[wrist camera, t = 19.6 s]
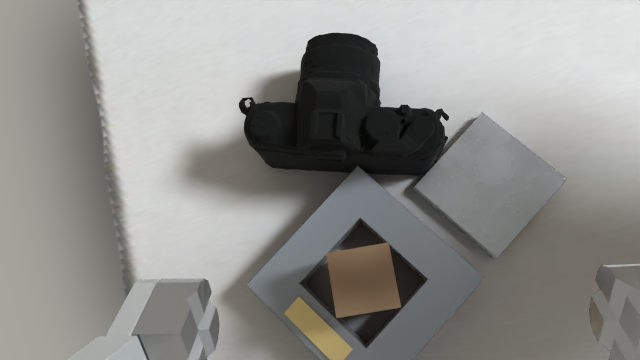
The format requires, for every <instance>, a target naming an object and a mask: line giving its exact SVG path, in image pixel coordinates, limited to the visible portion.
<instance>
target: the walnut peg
mask: <svg viewBox="0 0 640 360" xmlns="http://www.w3.org/2000/svg"><path fill="white" fill-rule="evenodd" d="M326 258H327V264H328V270H329V276H330V282H331V288H332V294H333V300H334V307H335V313H336V318H340V317H347V316H353V315H359V314H365V313H371V312H377V311H383V310H389V309H395V308H401V303H400V298H399V293H398V288H397V283H396V278H395V272H394V267H393V262H392V257H391V252H390V246H389V242H388V243H382V244H376V245H370V246H364V247H359V248H353V249H347V250H341V251H336V252H330V253H326Z"/></svg>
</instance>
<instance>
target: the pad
mask: <svg viewBox="0 0 640 360" xmlns="http://www.w3.org/2000/svg"><path fill="white" fill-rule="evenodd" d="M566 180H567V179H566V178H565V177H564V176H563V175H561V174H560V173H559V172H557V171H556V170H555V169H554V168H552V167H551V166H550V165H549V164H547V163H546V162H545V161H544V160H542V159H541V158H540V157H538V156H537V155H536V154H535V153H533V152H532V151H531V150H530V149H528V148H527V147H526V146H524V145H523V144H522V143H521V142H519V141H518V140H517V139H516V138H514V137H513V136H512V135H511V134H509V133H508V132H507V131H505V130H504V129H503V128H502V127H500V126H499V125H498V124H497V123H495V122H494V121H493V120H491V119H490V118H489V117H488V116H486V115H485V114H484V113H483V112H482V113H481V115H480V116H479V117H478V118H477V119H476V120H475V121H474V122H473V123H472V124H471V125H470V127H469V128H468V129H467V130H466V131H465V132H464V133H463V134H462V135H461V136H460V137H459V139H458V140H457V141H456V142H455V143H454V144H453V145H452V146H451V147H450V148H449V149H448V151H447V152H446V153H445V154H444V155H443V156H442V157H441V158H440V159H439V160H438V161H437V163H436V164H435V165H434V166H433V167H432V168H431V169H430V170H429V171H428V172H427V173H426V175H425V176H424V177H423V178H422V179H421V180H420V181H419V182H418V183H417V184H416V185H415V187H414V190H415V191H416V192H417V193H419V194H420V195H421V196H422V197H423V198H424V199H426V200H427V201H428V202H429V203H430V204H431V205H433V206H434V207H435V208H436V209H437V210H438V211H440V212H441V213H442V214H443V215H444V216H445V217H446V218H448V219H449V220H450V221H451V222H452V223H453V224H455V225H456V226H457V227H458V228H459V229H460V230H462V231H463V232H464V233H465V234H466V235H467V236H469V237H470V238H471V239H472V240H473V241H474V242H475V243H477V244H478V245H479V246H480V247H481V248H482V249H484V250H485V251H486V252H487V253H488V254H489V255H491V256H492V257H493V258H494V259H495V258H498V257H499V255H500V254H501V253H502V252H503V251H504V250H505V249H506V248H507V246H508V245H509V244H510V243H511V242H512V241H513V240H514V238H515V237H516V236H517V235H518V234H519V233H520V232H521V231H522V229H523V228H524V227H525V226H526V225H527V224H528V223H529V222H530V220H531V219H532V218H533V217H534V216H535V215H536V214H537V213H538V211H539V210H540V209H541V208H542V207H543V206H544V205H545V203H546V202H547V201H548V200H549V199H550V198H551V197H552V196H553V194H554V193H555V192H556V191H557V190H558V189H559V188H560V187H561V185H562V184H563V183H564V182H565V181H566Z"/></svg>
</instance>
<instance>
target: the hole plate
mask: <svg viewBox="0 0 640 360" xmlns="http://www.w3.org/2000/svg"><path fill="white" fill-rule="evenodd" d="M360 223H362V224H363V225H365V226H366V227H367V228H368V229H369V230H370V231H371V232H372V233H373V234H374V235H376V236H377V237H378V238H379V239H380V240H381V241H382V242H383V243H388V242H389V246H390V249H391V250H392V251H393V252H394V253H395V254H397V255H398V256H399V257H400V258H401V259H402V260H403V261H404V262H405V263H406V264H408V265H409V266H410V267H411V268H412V269H413V270H414V271H415V272H416V273H417V274H419V275H420V276H421V277H422V278H423V279H424V281H423V282H422V283H421V284H420V286H419V287H418V288H417V289H416V290H415V291H414V292H413V293H412V294H411V296H410V297H409V298H408V299H407V300H406V301H405V302H404V303H403V305H402V306H401V308H399V309H398V310H397V311H396V312H395V313H394V315H393V316H392V317H391V318H390V319H389V320H388V321H387V322H386V323H385V325H384V326H383V327H382V328H381V329H380V330H379V331H378V332H377V334H376V335H375V336H374V337H373V338H372V339H371V340H370V341H369V342H368V344H366V343H365V342H364V341H363V340H362V339H361V338H360V337H359V336H358V335H357V334H356V333H355V332H354V331H353V330H352V329H351V328H350V327H349V326H348V325H347V324H346V323H345V322H344V321H343V320H342V319H341V318H336V313H335V312H333V311H332V310H331V309H330V308H329V307H328V306H327V305H326V304H325V303H324V302H323V301H322V300H321V299H320V298H319V297H318V296H317V295H316V294H315V293H314V292H313V291H312V290H311V289H310V288H309V287H308V286H307V285H306V284H305V283H306V282H307V281H308V280H309V279H310V278H311V277H312V275H313V274H314V273H315V272H316V271H317V270H318V269H319V268H320V267H321V266H322V265H323V264H324V262H325V261H326V260H327V258H326V253H330V252H335V251H336V249H337V248H338V247H339V246H340V245H341V244H342V243H343V242H344V241H345V240H346V239H347V237H348V236H349V235H350V234H351V233H352V232H353V231H354V230H355V229H356V228H357V227H358V226H359V224H360ZM484 278H485V277H484V276H483V275H482V274H481V273H479V272H478V271H477V270H476V269H475V268H474V267H473V266H471V265H470V264H469V263H468V262H467V261H466V260H465V259H463V258H462V257H461V256H460V255H459V254H458V253H457V252H455V251H454V250H453V249H452V248H451V247H450V246H449V245H447V244H446V243H445V242H444V241H443V240H442V239H441V238H439V237H438V236H437V235H436V234H435V233H434V232H433V231H431V230H430V229H429V228H428V227H427V226H426V225H425V224H423V223H422V222H421V221H420V220H419V219H418V218H417V217H415V216H414V215H413V214H412V213H411V212H410V211H409V210H408V209H406V208H405V207H404V206H403V205H402V204H401V203H400V202H398V201H397V200H396V199H395V198H394V197H393V196H392V195H390V194H389V193H388V192H387V191H386V190H385V189H384V188H382V187H381V186H380V185H379V184H378V183H377V182H376V181H374V180H373V179H372V178H371V177H370V176H369V175H368V174H366V173H365V172H364V171H363V170H362V169H361V168H360V167H358V166H357V167H356V168H355V169H354V170H353V171H352V172H351V174H350V175H349V176H348V177H347V178H346V179H345V180H344V181H343V182H342V183H341V184H340V185H339V186H338V187H337V189H336V190H335V191H334V192H333V193H332V194H331V195H330V196H329V197H328V198H327V199H326V200H325V201H324V202H323V204H322V205H321V206H320V207H319V208H318V209H317V210H316V211H315V212H314V213H313V214H312V215H311V216H310V218H309V219H308V220H307V221H306V222H305V223H304V224H303V225H302V226H301V227H300V228H299V229H298V230H297V231H296V233H295V234H294V235H293V236H292V237H291V238H290V239H289V240H288V241H287V242H286V243H285V244H284V245H283V246H282V248H281V249H280V250H279V251H278V252H277V253H276V254H275V255H274V256H273V257H272V258H271V259H270V260H269V261H268V263H267V264H266V265H265V266H264V267H263V268H262V269H261V270H260V271H259V272H258V273H257V274H256V275H255V277H254V278H253V279H252V280H251V281H250V282H249V283H248V284H247V286H248V287H249V288H250V289H251V290H252V291H253V292H254V293H255V294H256V295H257V296H258V297H259V298H260V299H261V300H262V301H263V302H264V303H265V304H266V305H267V306H268V307H269V308H270V309H271V310H272V311H273V312H274V313H275V314H276V315H277V316H278V317H279V318H280V319H281V320H282V321H283V322H284V323H285V324H286V325H287V327H288V328H289V329H290V330H291V331H292V332H293V333H294V334H295V335H296V336H297V337H298V338H299V339H300V340H301V341H302V342H303V343H304V344H305V345H306V346H307V347H308V348H309V349H310V350H311V351H312V352H313V353H314V354H315V355H316V356H317V357H318V358H319V359H320V360H413V359H414V357H415V356H416V355H417V354H418V353H419V352H420V351H421V350H422V348H423V347H424V346H425V345H426V344H427V343H428V342H429V341H430V339H431V338H432V337H433V336H434V335H435V334H436V333H437V331H438V330H439V329H440V328H441V327H442V326H443V325H444V324H445V322H446V321H447V320H448V319H449V318H450V317H451V316H452V314H453V313H454V312H455V311H456V310H457V309H458V308H459V307H460V305H461V304H462V303H463V302H464V301H465V300H466V299H467V298H468V296H469V295H470V294H471V293H472V292H473V291H474V290H475V288H476V287H477V286H478V285H479V284H480V283H481V282H482V281H483V279H484Z"/></svg>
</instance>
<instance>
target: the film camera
mask: <svg viewBox="0 0 640 360" xmlns="http://www.w3.org/2000/svg"><path fill="white" fill-rule="evenodd" d="M377 55H378V49H377V48H376V45H375V44H373V43H372V42H370V41H369V40H368V39H366V38H363V37H361V36H359V35H355V34H346V33H329V34H324V35H318V36H315V37H313V38H312V39H310V40H309V41H308V44H307V47H306V52H305V54H304V55H303V57H302V61H301V76H300V80H299V82H298V89H297V95H296V100H295V103H287V102H274V103H271V102H264V103H258V104H255V102H254V100H253V98H252V97H250V98H242V100H241V101H240V103H239V108H240V110H241V112H242V113H243V114H245V115H246V119H245V122H244V132H245V135H246V138H247V140H248V142H249V144H250V146H251V147H253V148H254V149H255V150H256V151H257V152H258V154H259V155H260V156H261V157H262V158H263V159H264V160H265V163H266V164H268V165H269V166H271V167H273V168H282V169H300V170H316V171H335V172H352V171H353V170H354V169H355V168H356V167H357V166H358V167H360V168H361V169H362V170H363V171H364V172H365V173H372V174H387V175H421V174H424V173H427V172H428V171H429V170H430V169H431V168H432V166H433V165H434V163H435V162H436V159H437V158H438V157H439V156H440V154H441V151H442V149H443V147H444V145H445V143H446V141H447V139H448V137H446V136H445V130H444V126H443V125H442V123H441V121H440V120H439V119H440V118H441V115H442V117H443V118H444V119H445V120H446V121H447V120H448V119H449V116H448V115H447V114H446V113H444V111H443V110H442V109H438V110H436V112H434V111H433V110H431V109H427V108H422V109H414V108H410V107H409V106H408V105H401V106H400V107H399V108H393V107H380V104H381V102H380V100H379V96H380V88H379V73H380V61H379V59H378V57H377ZM247 99H250V100H251V102H250V107H248V108H247V107H246V105H245V101H246V100H247Z"/></svg>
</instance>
